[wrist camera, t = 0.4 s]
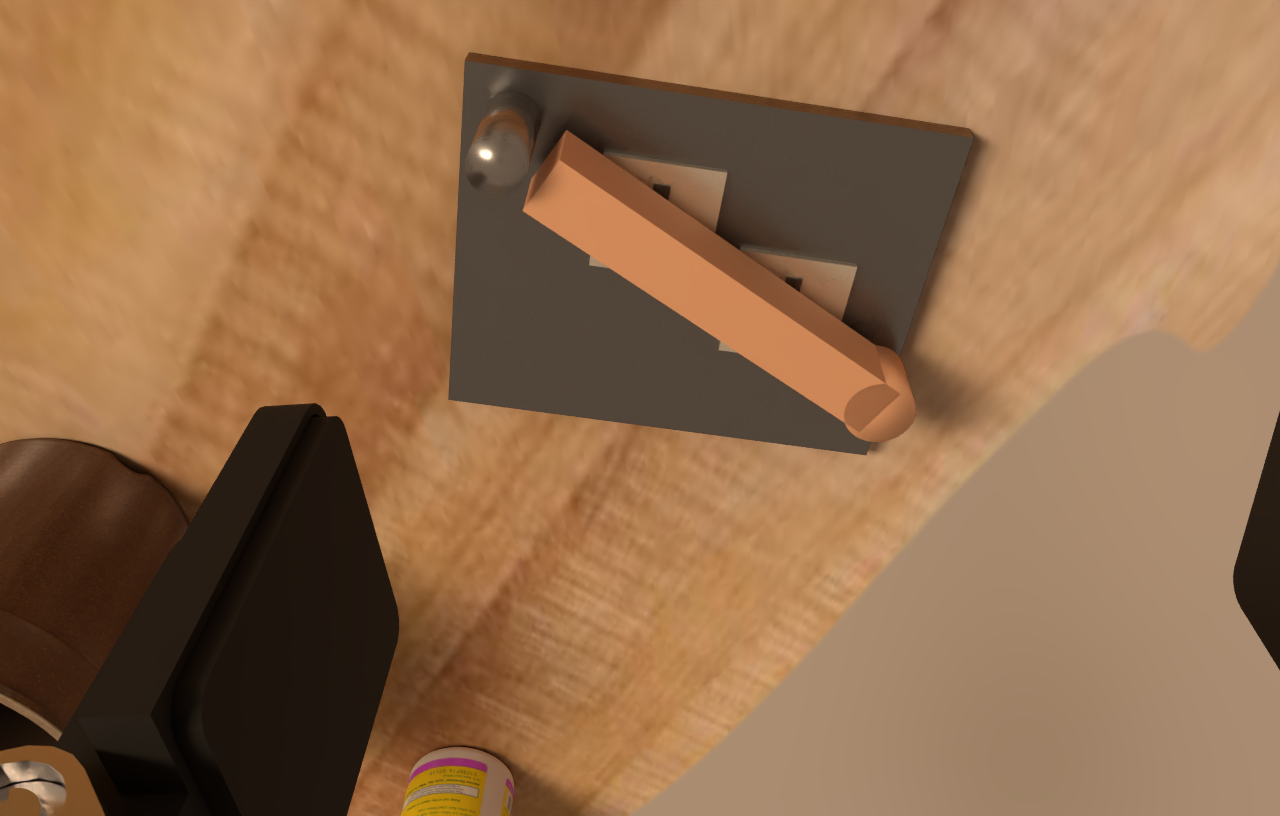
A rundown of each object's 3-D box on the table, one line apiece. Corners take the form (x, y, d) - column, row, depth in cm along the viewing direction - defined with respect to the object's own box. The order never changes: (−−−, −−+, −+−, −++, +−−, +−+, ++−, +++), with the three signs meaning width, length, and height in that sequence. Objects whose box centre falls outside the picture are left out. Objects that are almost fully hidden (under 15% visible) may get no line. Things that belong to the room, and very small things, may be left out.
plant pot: (153, 374, 51) (-30, 627, 38) (287, 610, 60) (178, 879, 47) (-144, 426, 53) (-413, 681, 40) (28, 645, 62) (-146, 912, 49)
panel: (469, 52, 42) (441, 106, 37) (968, 128, 43) (1005, 190, 38) (452, 387, 51) (428, 466, 46) (863, 442, 52) (882, 525, 47)
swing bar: (528, 183, 43) (518, 215, 40) (570, 124, 41) (563, 154, 39) (870, 412, 49) (881, 453, 46) (918, 368, 47) (931, 408, 45)
